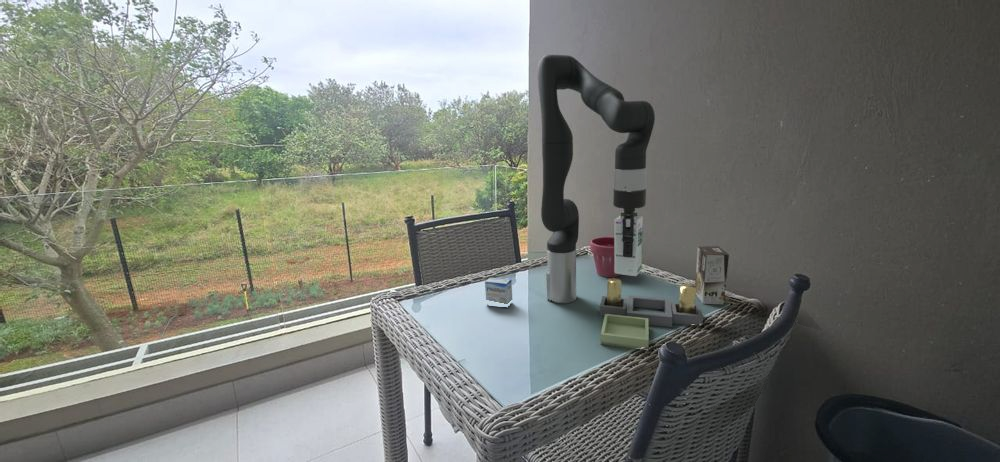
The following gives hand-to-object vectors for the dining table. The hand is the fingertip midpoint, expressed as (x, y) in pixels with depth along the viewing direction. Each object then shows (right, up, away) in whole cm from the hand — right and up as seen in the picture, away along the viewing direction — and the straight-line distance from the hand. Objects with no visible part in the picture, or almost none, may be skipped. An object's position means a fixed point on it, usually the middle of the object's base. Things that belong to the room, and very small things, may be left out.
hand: (628, 252), depth 97 cm
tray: (+1, -23, +6) cm, 24 cm away
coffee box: (+34, -16, +24) cm, 45 cm away
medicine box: (-33, -19, +29) cm, 48 cm away
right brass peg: (+21, -20, +13) cm, 31 cm away
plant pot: (+10, -11, +50) cm, 52 cm away
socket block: (+12, -20, +16) cm, 28 cm away
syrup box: (0, -5, +1) cm, 5 cm away
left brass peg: (+2, -19, +20) cm, 28 cm away
